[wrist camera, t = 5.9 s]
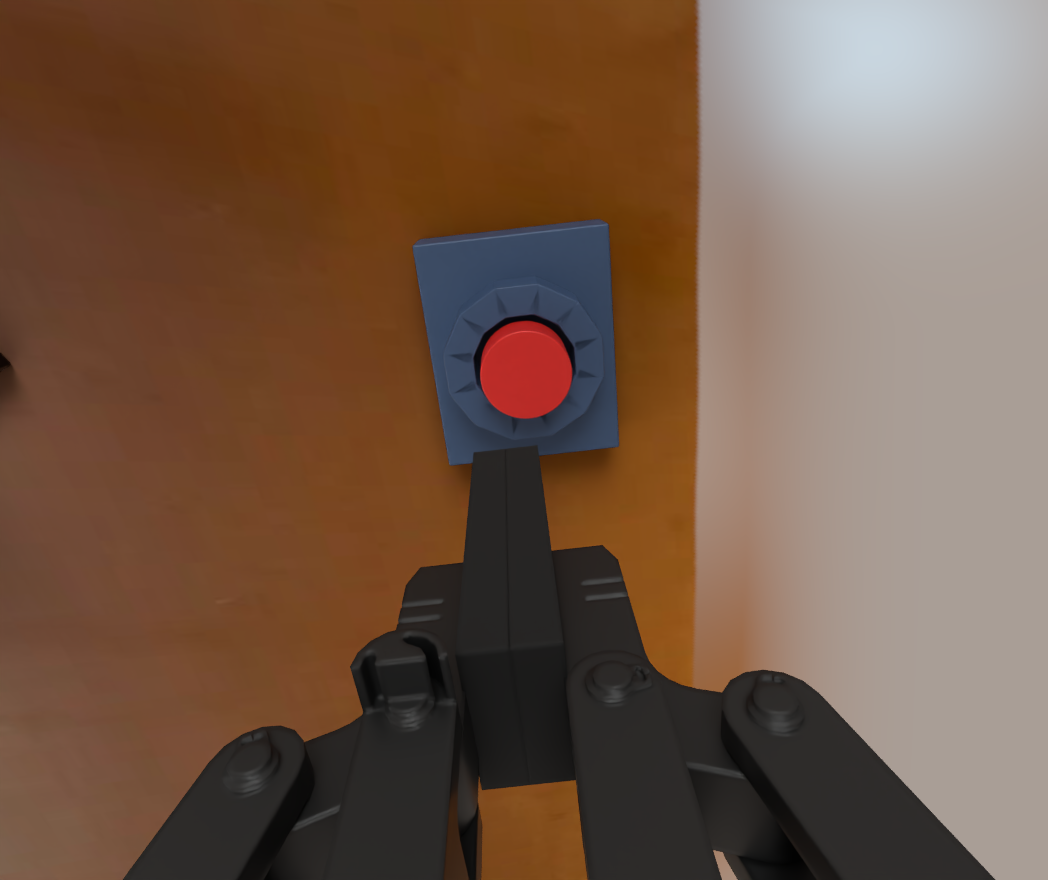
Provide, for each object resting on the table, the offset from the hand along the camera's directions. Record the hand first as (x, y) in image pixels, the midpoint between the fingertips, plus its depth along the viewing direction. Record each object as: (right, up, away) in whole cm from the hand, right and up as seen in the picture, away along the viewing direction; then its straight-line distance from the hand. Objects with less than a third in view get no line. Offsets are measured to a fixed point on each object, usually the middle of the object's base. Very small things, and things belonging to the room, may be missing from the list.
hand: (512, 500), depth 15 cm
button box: (0, +6, +14) cm, 16 cm away
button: (0, +5, +11) cm, 12 cm away
